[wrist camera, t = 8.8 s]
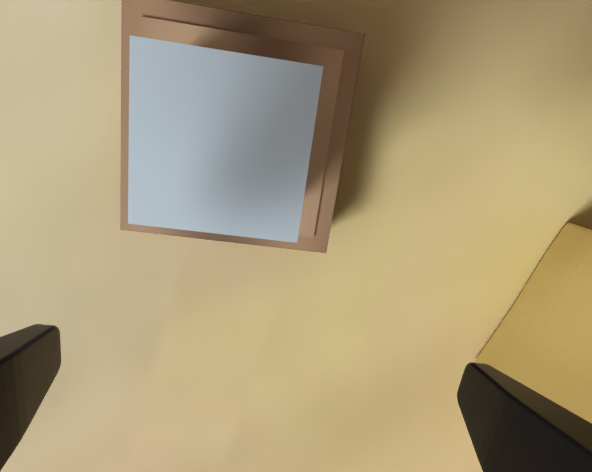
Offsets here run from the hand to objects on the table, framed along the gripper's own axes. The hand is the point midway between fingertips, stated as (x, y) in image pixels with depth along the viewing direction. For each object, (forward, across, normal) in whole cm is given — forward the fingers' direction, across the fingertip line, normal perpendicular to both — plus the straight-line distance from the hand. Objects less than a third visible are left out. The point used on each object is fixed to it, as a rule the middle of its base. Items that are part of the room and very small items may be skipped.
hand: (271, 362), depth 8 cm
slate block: (+9, +2, -4) cm, 10 cm away
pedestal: (+12, +2, -4) cm, 13 cm away
